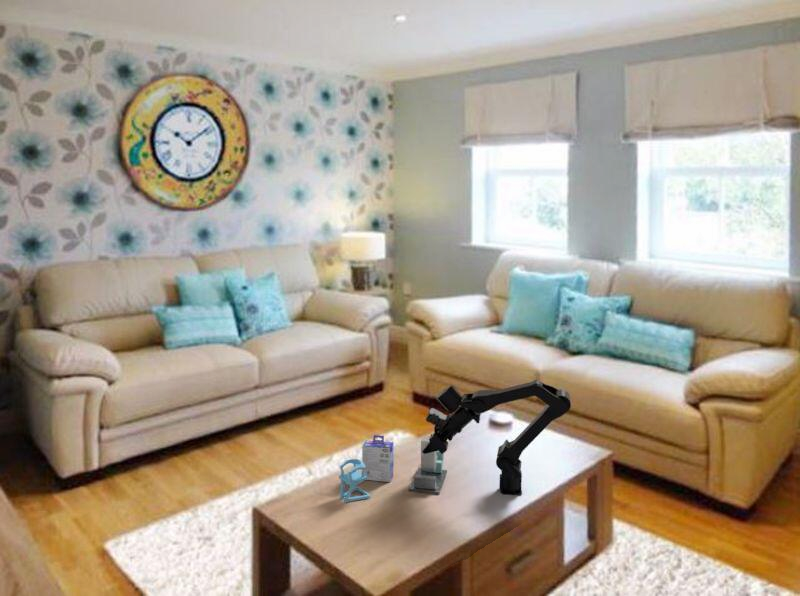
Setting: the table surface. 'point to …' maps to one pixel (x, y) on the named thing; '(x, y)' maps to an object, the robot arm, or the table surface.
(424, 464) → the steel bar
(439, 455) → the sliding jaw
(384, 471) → the ink cartridge box
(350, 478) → the chair
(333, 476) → the table surface
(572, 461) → the table surface
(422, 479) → the bench vise
